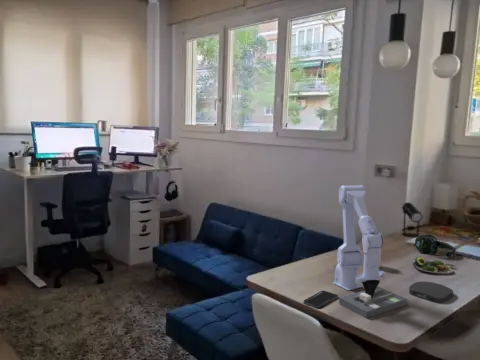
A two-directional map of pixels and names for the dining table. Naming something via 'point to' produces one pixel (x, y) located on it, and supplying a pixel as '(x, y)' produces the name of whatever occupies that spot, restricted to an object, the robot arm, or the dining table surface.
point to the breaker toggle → (364, 296)
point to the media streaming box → (431, 291)
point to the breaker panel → (373, 302)
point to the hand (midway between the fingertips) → (369, 297)
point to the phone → (320, 299)
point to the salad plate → (431, 266)
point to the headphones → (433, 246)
